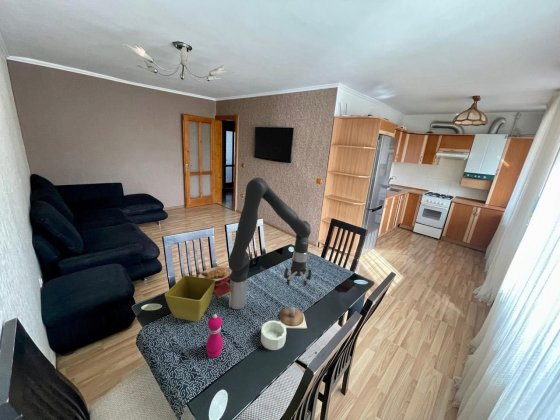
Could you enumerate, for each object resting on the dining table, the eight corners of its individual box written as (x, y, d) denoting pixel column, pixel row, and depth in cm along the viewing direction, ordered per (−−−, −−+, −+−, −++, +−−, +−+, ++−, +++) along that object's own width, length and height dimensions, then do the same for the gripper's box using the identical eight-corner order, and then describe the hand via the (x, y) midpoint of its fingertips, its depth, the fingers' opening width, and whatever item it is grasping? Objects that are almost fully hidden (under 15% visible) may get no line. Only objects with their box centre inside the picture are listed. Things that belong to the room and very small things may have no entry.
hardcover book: (218, 303, 134) (218, 297, 133) (202, 286, 148) (202, 280, 147) (235, 295, 142) (235, 289, 141) (219, 280, 156) (219, 274, 155)
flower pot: (165, 322, 115) (163, 294, 111) (185, 299, 133) (184, 274, 129) (200, 329, 113) (200, 301, 109) (215, 304, 131) (216, 279, 127)
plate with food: (220, 288, 138) (220, 283, 137) (188, 281, 148) (188, 276, 147) (241, 271, 159) (241, 266, 159) (212, 266, 169) (211, 262, 168)
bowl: (260, 350, 105) (261, 339, 103) (260, 330, 116) (261, 320, 115) (286, 350, 106) (287, 340, 104) (283, 330, 117) (284, 320, 116)
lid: (280, 326, 119) (281, 316, 117) (278, 308, 132) (279, 299, 131) (305, 326, 120) (306, 317, 119) (301, 309, 133) (302, 300, 132)
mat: (278, 328, 118) (279, 327, 118) (277, 308, 133) (277, 307, 133) (306, 328, 120) (306, 327, 120) (302, 309, 134) (302, 308, 134)
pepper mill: (224, 345, 105) (225, 309, 100) (220, 359, 98) (221, 321, 93) (208, 344, 105) (208, 308, 100) (204, 358, 98) (204, 320, 93)
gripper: (286, 260, 114) (283, 288, 118) (314, 262, 115) (310, 290, 119) (285, 254, 121) (282, 280, 125) (311, 255, 122) (307, 281, 126)
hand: (296, 285), depth 122 cm, fingers open, 8 cm apart
